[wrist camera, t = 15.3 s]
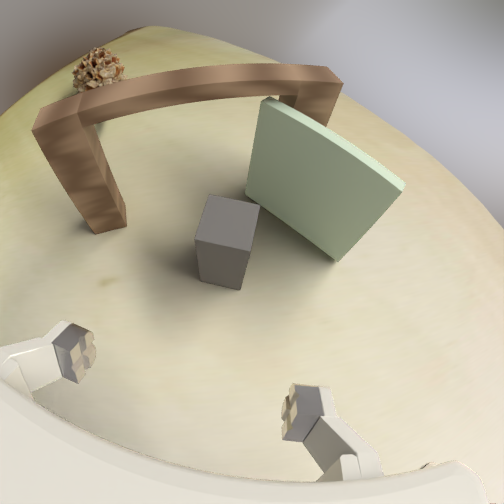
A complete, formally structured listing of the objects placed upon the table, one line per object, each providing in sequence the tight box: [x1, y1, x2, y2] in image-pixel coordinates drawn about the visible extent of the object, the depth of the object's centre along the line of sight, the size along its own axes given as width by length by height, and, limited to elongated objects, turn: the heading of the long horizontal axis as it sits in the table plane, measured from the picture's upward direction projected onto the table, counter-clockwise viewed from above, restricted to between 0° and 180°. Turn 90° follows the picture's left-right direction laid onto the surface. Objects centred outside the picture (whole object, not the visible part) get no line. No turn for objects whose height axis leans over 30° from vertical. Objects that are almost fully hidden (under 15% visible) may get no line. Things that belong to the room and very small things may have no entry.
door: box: [245, 96, 406, 262], centre depth 25 cm, size 13×3×13 cm, turn 52°
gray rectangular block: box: [194, 194, 260, 290], centre depth 24 cm, size 4×4×9 cm
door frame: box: [31, 64, 343, 234], centre depth 24 cm, size 25×3×16 cm, turn 107°
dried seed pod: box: [72, 47, 127, 94], centre depth 33 cm, size 22×10×10 cm, turn 39°
